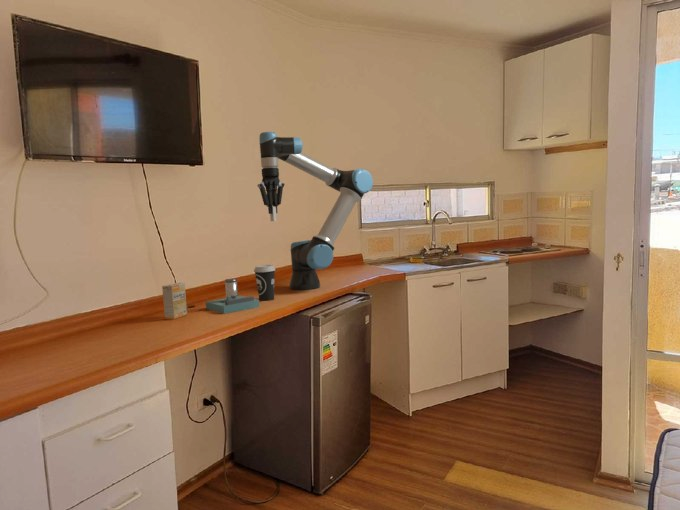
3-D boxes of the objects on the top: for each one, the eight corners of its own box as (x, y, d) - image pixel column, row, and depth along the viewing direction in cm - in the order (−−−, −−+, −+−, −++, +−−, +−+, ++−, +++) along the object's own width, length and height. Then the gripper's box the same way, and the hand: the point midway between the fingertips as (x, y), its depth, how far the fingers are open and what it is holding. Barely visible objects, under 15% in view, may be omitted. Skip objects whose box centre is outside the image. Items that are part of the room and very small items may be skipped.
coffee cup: (273, 301, 226) (271, 267, 224) (252, 301, 228) (250, 267, 226) (280, 297, 235) (278, 264, 234) (260, 297, 237) (258, 264, 236)
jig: (240, 302, 228) (239, 292, 227) (259, 306, 215) (258, 295, 215) (206, 308, 217) (205, 298, 217) (224, 313, 205) (223, 302, 205)
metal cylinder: (235, 306, 220) (233, 278, 218) (240, 307, 216) (238, 279, 215) (225, 308, 217) (222, 279, 215) (230, 309, 213) (228, 280, 212)
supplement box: (174, 319, 199) (171, 286, 198) (164, 319, 201) (161, 285, 200) (188, 315, 207) (185, 282, 206) (178, 314, 209) (175, 282, 207)
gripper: (277, 168, 238) (281, 220, 240) (252, 168, 229) (256, 222, 232) (286, 167, 232) (290, 220, 234) (261, 167, 224) (265, 222, 226)
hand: (273, 221), depth 233 cm, fingers closed
